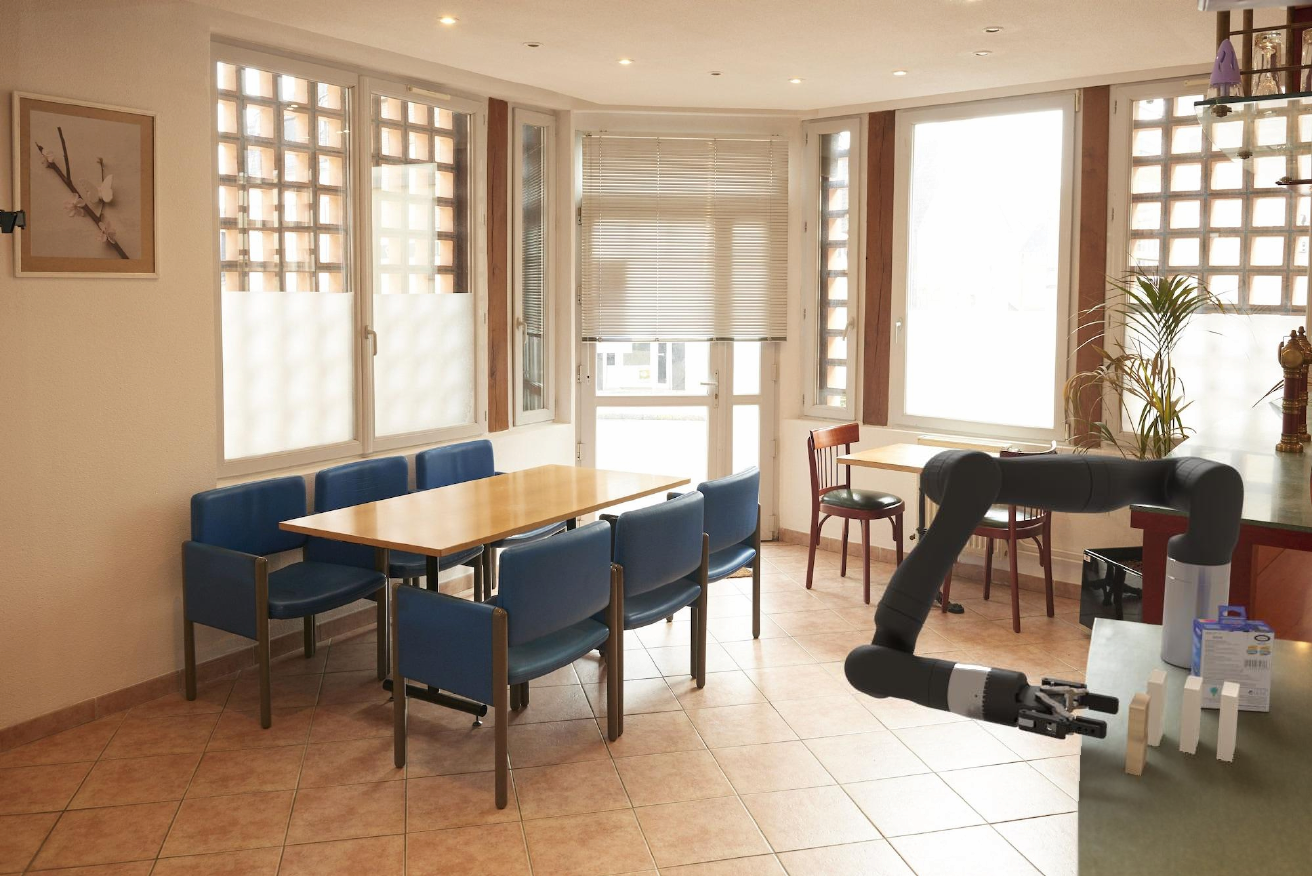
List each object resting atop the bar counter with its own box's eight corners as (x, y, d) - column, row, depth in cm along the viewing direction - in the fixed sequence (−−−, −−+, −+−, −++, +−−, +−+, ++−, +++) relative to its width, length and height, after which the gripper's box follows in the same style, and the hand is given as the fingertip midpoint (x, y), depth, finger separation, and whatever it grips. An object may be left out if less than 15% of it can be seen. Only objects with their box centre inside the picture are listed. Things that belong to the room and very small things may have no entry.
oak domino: (1131, 757, 142) (1135, 693, 140) (1146, 760, 141) (1150, 695, 139) (1125, 772, 137) (1129, 706, 136) (1140, 776, 136) (1144, 709, 135)
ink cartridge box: (1258, 698, 160) (1265, 605, 157) (1271, 713, 154) (1279, 617, 152) (1186, 694, 162) (1193, 601, 159) (1197, 709, 156) (1204, 613, 154)
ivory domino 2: (1184, 737, 147) (1188, 675, 146) (1198, 740, 146) (1203, 677, 145) (1179, 751, 143) (1183, 687, 142) (1194, 754, 142) (1199, 690, 141)
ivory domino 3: (1219, 744, 145) (1224, 681, 143) (1235, 747, 144) (1239, 683, 142) (1216, 759, 141) (1221, 694, 139) (1232, 762, 140) (1236, 697, 138)
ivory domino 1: (1149, 730, 149) (1153, 669, 148) (1163, 733, 149) (1167, 671, 147) (1143, 744, 145) (1147, 681, 144) (1158, 747, 144) (1162, 683, 143)
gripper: (973, 685, 142) (1103, 710, 133) (1001, 651, 154) (1123, 672, 145) (971, 738, 143) (1101, 767, 134) (1000, 701, 155) (1120, 724, 146)
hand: (1112, 718), depth 140 cm, fingers open, 8 cm apart
